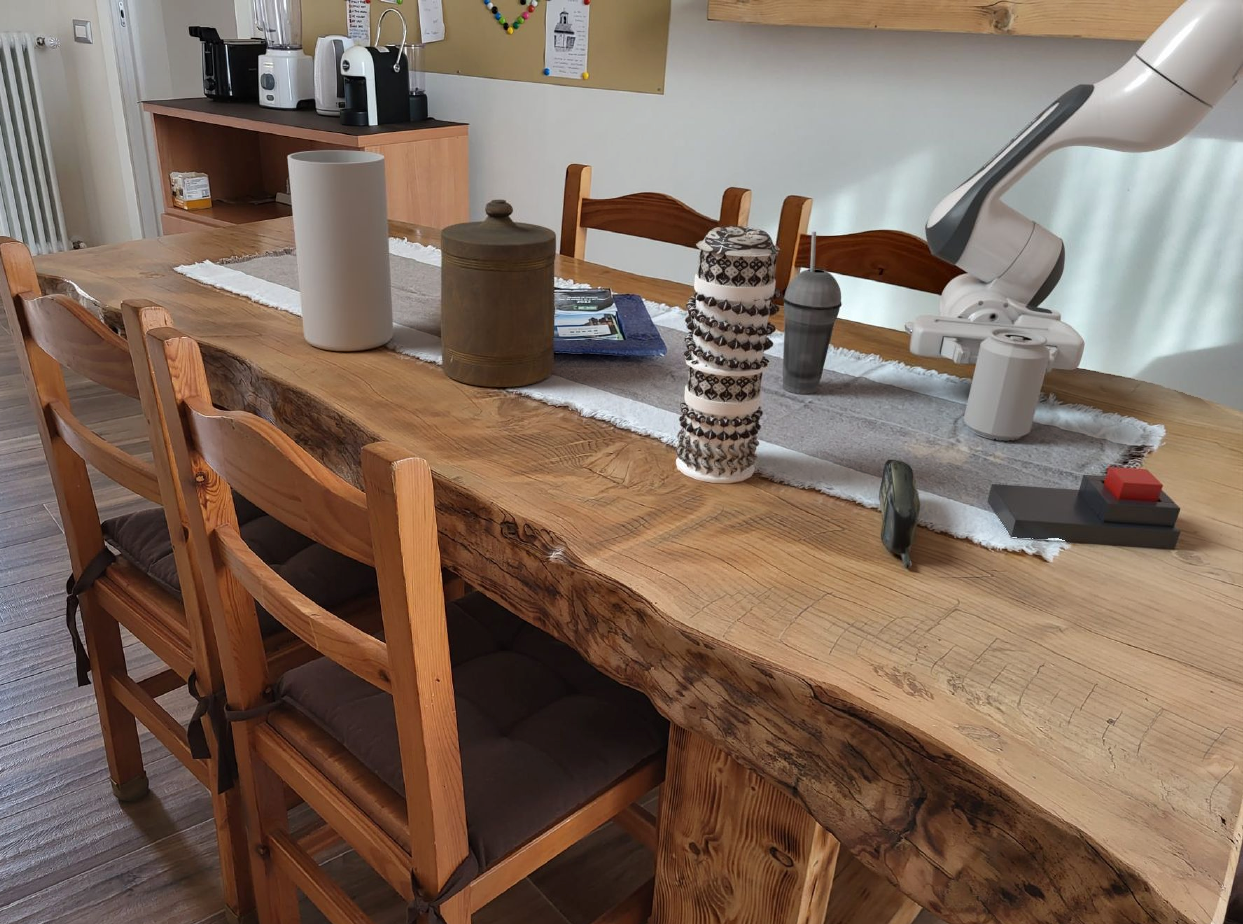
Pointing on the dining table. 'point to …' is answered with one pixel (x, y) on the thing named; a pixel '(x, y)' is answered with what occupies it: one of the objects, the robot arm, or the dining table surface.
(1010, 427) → the can
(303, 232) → the cylinder vase
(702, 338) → the decorative candle
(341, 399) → the dining table surface
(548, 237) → the wooden container
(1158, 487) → the red rectangular button
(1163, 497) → the dark grey stepped block
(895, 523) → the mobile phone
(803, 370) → the beverage cup
